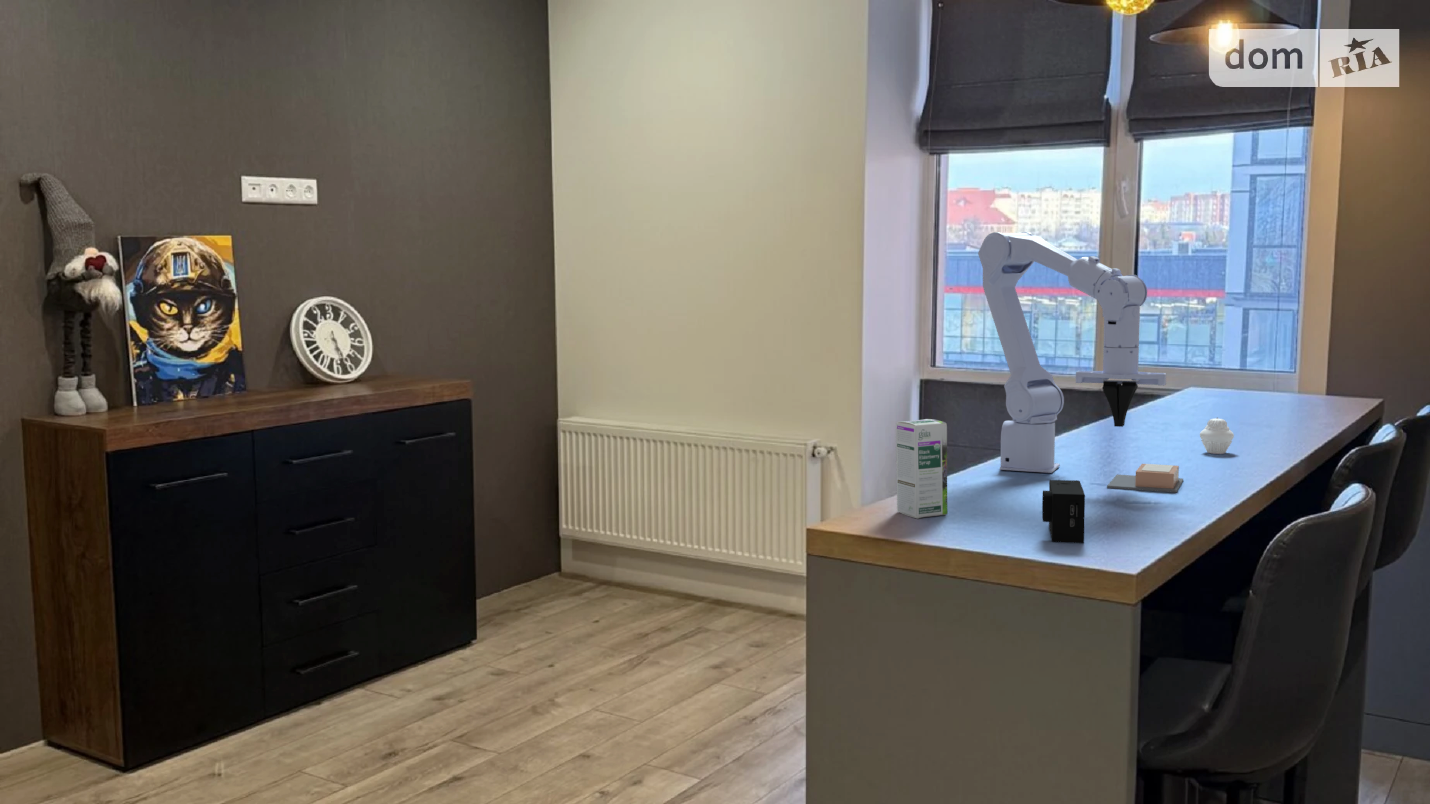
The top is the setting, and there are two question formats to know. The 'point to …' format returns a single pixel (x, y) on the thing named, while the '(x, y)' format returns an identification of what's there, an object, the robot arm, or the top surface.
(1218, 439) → the muffin
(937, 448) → the syrup box
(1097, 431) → the top surface
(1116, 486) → the mat
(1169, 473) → the block
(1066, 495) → the digital camera
